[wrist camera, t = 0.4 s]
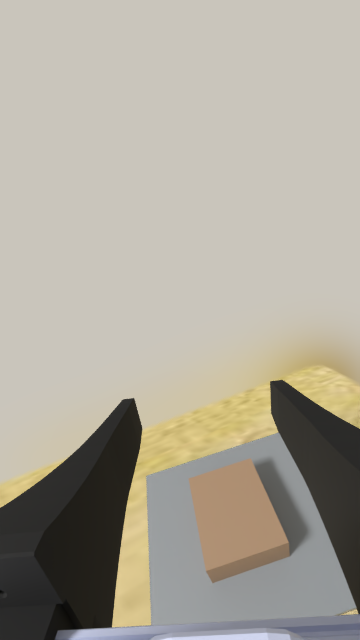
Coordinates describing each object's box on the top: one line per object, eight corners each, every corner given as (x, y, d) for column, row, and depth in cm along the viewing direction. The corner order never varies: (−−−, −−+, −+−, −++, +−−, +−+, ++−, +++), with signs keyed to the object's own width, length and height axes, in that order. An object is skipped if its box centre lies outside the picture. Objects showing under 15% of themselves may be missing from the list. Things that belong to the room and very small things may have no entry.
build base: (386, 598, 17) (395, 583, 15) (155, 681, 16) (139, 674, 15) (281, 434, 30) (280, 416, 28) (147, 478, 29) (138, 462, 27)
